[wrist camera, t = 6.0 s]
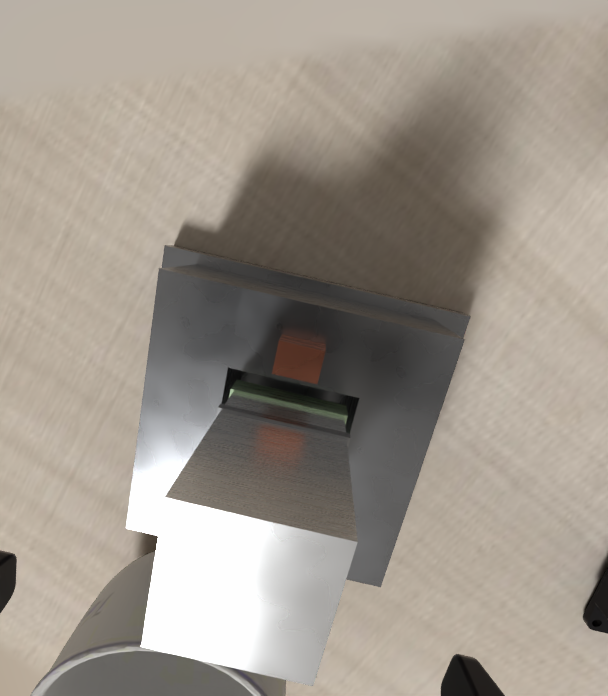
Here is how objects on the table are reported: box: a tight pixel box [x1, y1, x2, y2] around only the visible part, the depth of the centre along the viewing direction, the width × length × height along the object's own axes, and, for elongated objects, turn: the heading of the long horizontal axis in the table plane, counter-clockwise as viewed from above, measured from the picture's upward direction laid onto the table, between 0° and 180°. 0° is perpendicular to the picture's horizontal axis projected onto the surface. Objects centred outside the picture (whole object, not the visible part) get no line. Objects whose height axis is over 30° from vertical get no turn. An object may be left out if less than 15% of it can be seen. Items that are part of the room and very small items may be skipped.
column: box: [141, 380, 358, 686], centre depth 12 cm, size 4×4×7 cm
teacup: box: [31, 551, 286, 696], centre depth 20 cm, size 14×11×8 cm
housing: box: [126, 245, 470, 587], centre depth 17 cm, size 14×12×6 cm
